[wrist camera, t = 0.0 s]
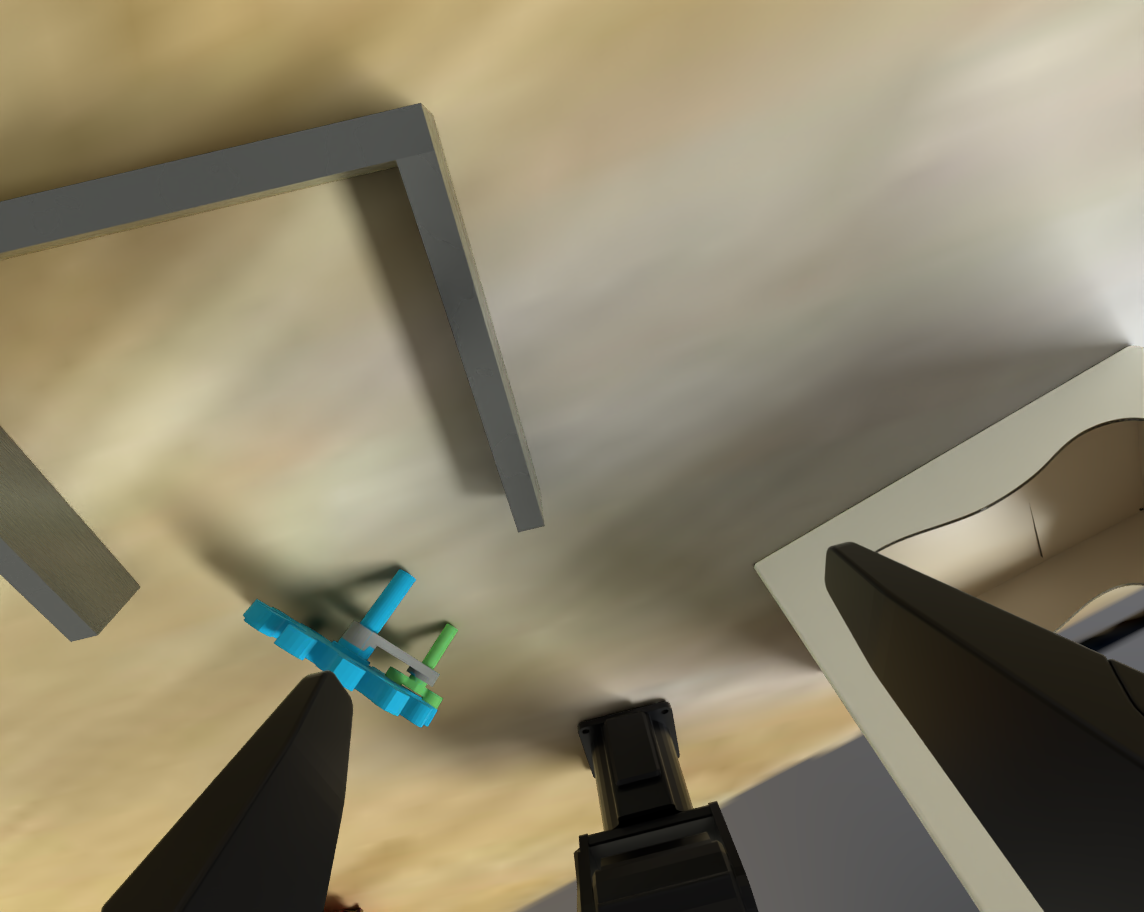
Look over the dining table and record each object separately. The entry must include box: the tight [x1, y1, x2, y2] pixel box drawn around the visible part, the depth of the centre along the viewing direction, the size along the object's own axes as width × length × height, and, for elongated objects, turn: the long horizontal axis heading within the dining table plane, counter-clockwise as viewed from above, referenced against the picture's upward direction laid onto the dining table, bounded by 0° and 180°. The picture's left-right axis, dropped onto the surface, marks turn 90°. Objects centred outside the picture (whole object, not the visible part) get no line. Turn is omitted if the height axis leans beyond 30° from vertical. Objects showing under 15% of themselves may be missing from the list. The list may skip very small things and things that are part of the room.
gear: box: [243, 569, 458, 727], centre depth 25 cm, size 11×6×10 cm
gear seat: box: [0, 103, 545, 642], centre depth 19 cm, size 16×21×3 cm
